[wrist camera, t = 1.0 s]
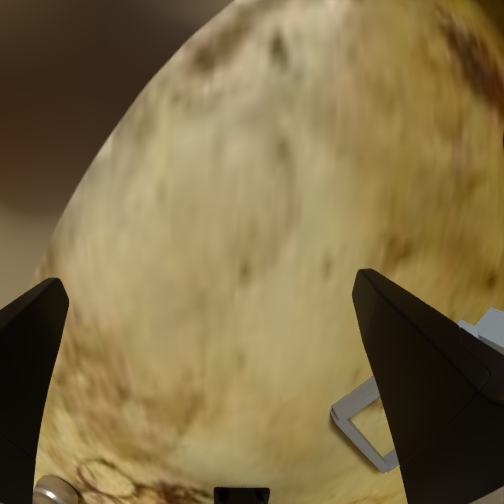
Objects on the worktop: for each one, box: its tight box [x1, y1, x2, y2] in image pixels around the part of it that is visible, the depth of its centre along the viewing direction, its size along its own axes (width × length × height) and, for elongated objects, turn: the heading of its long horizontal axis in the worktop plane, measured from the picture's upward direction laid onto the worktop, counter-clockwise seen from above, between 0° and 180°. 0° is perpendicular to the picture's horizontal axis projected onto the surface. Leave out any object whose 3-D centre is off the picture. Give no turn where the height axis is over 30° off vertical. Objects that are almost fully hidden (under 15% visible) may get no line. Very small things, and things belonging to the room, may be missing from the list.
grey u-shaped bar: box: [330, 376, 399, 473], centre depth 25 cm, size 10×14×2 cm
